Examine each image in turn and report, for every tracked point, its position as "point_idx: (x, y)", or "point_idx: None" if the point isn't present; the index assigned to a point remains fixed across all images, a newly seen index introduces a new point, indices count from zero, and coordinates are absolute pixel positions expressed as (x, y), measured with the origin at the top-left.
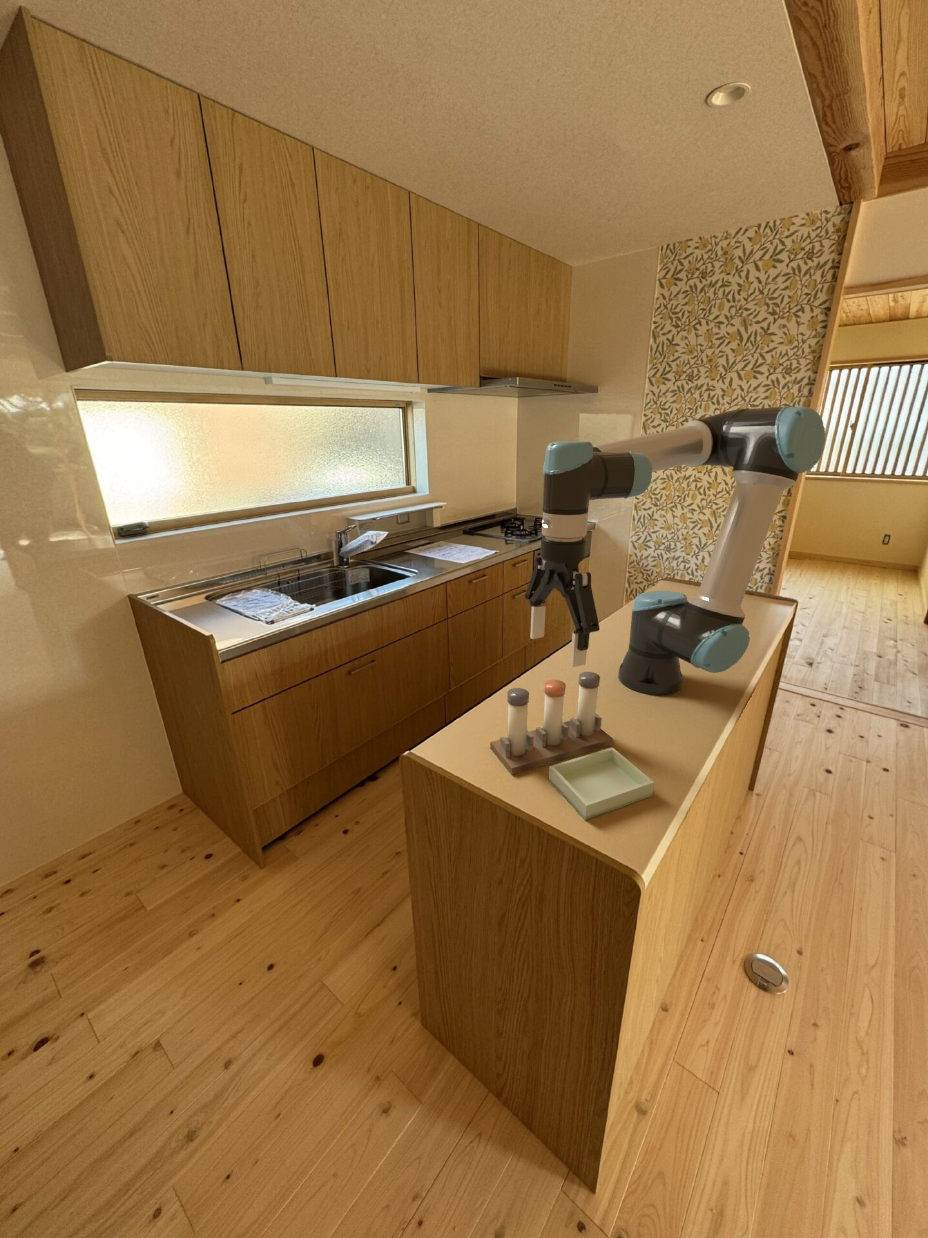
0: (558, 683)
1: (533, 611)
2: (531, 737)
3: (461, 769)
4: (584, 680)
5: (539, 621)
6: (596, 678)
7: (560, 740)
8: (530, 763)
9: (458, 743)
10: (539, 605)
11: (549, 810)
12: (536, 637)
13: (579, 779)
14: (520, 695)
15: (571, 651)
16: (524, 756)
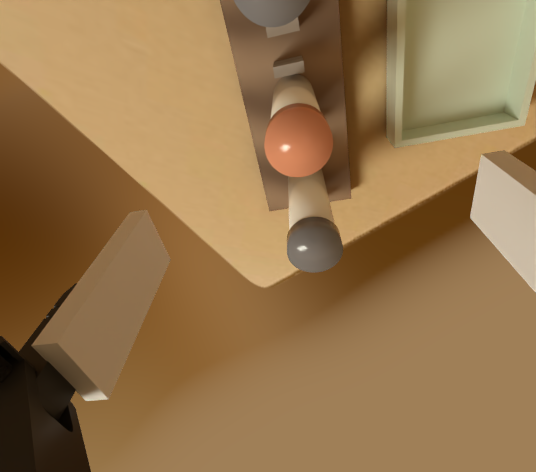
0: (294, 132)
1: (117, 375)
2: None
3: None
4: (296, 17)
5: (127, 291)
6: None
7: (307, 80)
8: (348, 163)
9: (242, 242)
10: (55, 369)
11: (449, 161)
12: (161, 245)
13: (420, 82)
14: (327, 250)
15: (511, 260)
16: (327, 168)
